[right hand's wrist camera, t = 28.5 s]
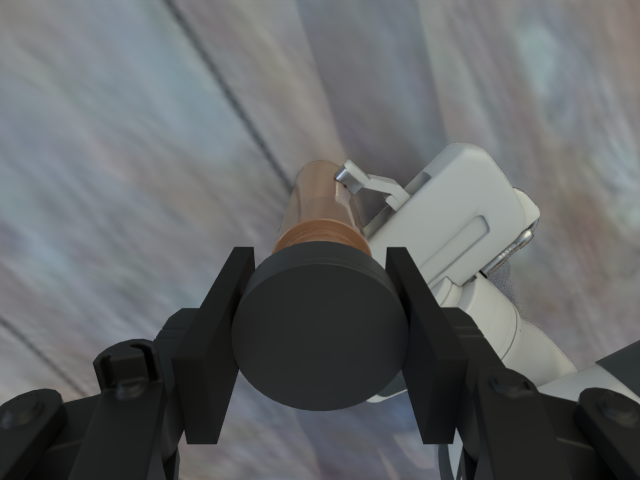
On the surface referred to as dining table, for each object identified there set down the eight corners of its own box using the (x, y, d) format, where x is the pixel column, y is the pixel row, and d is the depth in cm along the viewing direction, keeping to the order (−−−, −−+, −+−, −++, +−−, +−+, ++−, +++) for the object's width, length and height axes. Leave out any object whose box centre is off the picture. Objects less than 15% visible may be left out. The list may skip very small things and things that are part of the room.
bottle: (284, 190, 32) (243, 287, 15) (318, 149, 30) (315, 205, 14) (324, 222, 33) (327, 347, 16) (358, 184, 31) (401, 276, 15)
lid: (429, 320, 12) (445, 352, 11) (311, 397, 14) (310, 436, 12) (330, 206, 11) (332, 224, 9) (208, 304, 12) (192, 335, 11)
